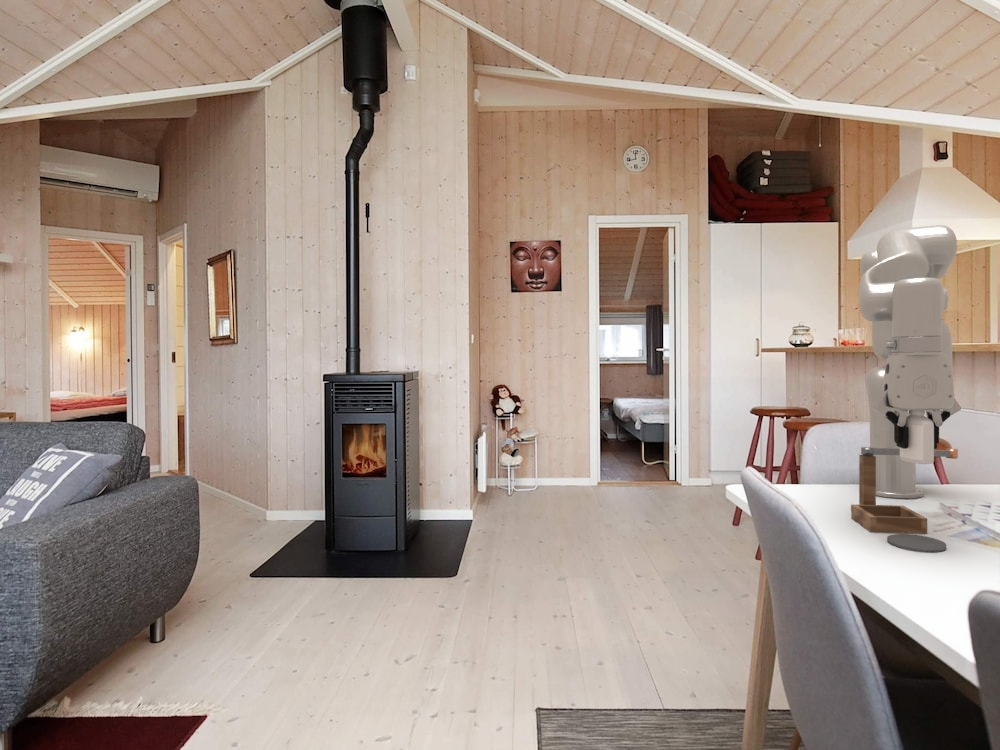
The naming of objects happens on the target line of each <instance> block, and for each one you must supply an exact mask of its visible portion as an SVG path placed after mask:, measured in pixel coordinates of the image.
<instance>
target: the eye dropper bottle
mask: <svg viewBox="0 0 1000 750" xmlns="http://www.w3.org/2000/svg"><path fill="white" fill-rule="evenodd" d="M908 413H909V414H910V415H909V416H907V417H906V422H905V423H906V427H908V448H907V449H903V448H900V459H901V460H903V461H907V462H911V463H916V464H918V465H919V464H921V465H930V464H931V465H932V464H933V463H934V462H935V456H934V450H935V449H934V424H933V422H932V421H931V420H930V419H929V418H927V417H926V412H925V410H908Z"/></svg>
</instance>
